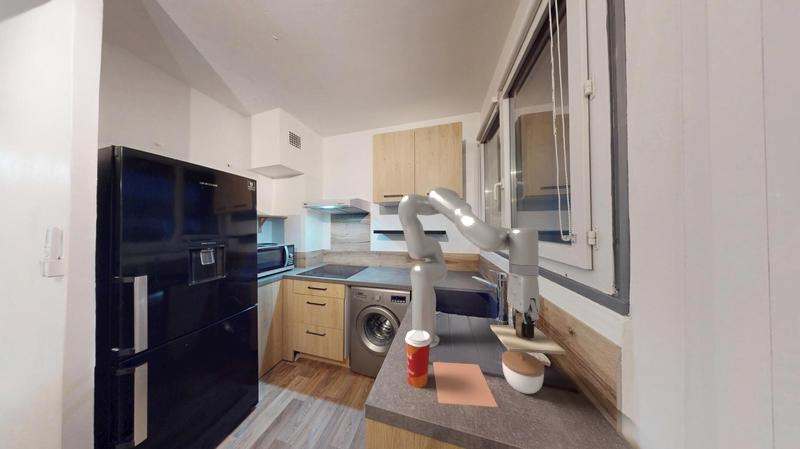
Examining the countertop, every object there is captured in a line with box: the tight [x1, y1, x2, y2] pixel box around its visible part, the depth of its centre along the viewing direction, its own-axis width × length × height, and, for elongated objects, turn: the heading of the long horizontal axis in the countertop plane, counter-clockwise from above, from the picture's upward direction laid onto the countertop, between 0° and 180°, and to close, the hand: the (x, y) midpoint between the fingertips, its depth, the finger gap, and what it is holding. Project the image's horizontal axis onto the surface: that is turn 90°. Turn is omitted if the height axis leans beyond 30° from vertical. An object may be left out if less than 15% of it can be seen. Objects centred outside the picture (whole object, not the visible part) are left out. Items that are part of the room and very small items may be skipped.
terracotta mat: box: [432, 361, 499, 408], centre depth 64 cm, size 17×15×1 cm
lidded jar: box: [501, 350, 545, 395], centre depth 63 cm, size 11×11×9 cm
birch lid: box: [489, 313, 567, 355], centre depth 63 cm, size 14×14×7 cm
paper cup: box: [404, 329, 431, 388], centre depth 64 cm, size 8×8×14 cm
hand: (523, 332), depth 63 cm, fingers closed on birch lid, 4 cm apart
